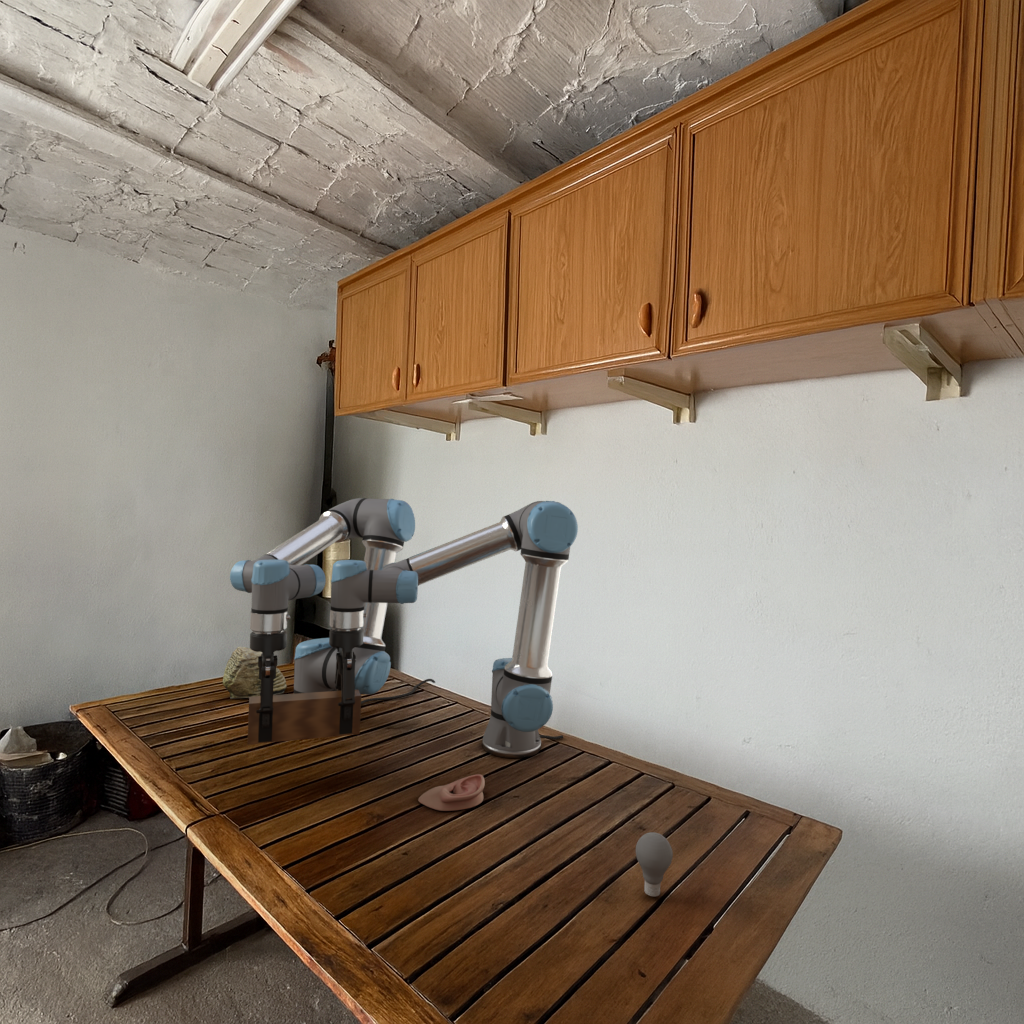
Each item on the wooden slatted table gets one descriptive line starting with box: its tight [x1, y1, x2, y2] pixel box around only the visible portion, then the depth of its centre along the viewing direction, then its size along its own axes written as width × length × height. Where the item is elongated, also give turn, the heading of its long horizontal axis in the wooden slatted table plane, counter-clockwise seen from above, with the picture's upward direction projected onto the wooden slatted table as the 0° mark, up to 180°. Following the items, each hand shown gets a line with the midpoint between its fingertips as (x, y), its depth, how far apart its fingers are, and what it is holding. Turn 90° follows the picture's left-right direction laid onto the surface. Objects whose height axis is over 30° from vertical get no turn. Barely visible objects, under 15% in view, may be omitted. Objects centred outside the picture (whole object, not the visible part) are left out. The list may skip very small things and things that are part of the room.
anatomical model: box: [417, 773, 486, 812], centre depth 135 cm, size 13×4×12 cm
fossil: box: [222, 646, 288, 699], centre depth 198 cm, size 9×18×15 cm, turn 132°
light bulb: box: [635, 831, 674, 897], centre depth 105 cm, size 6×6×10 cm
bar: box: [247, 690, 362, 745], centre depth 142 cm, size 24×5×9 cm, turn 111°
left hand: (265, 736), depth 139 cm, fingers closed on bar, 5 cm apart
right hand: (342, 725), depth 145 cm, fingers open, 10 cm apart
